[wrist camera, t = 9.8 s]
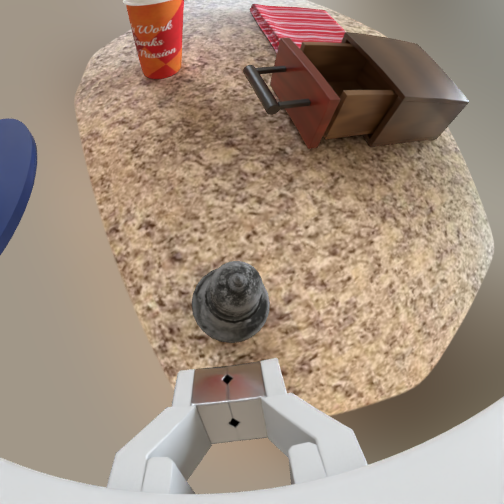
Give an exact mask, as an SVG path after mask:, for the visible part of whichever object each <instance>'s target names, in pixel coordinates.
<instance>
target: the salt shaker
mask: <svg viewBox="0 0 504 504" xmlns="http://www.w3.org/2000/svg"><path fill="white" fill-rule="evenodd" d="M269 304H270V303H269V297H268V293H267V291H266V289H265V286H264V284H263V283H262V279H261V277H260V275H259V273H258V272H257V270H256V269H255V268H254V267H252V266H251V265H250V264H247V263H245V262H240V261H233V262H228V263H226V264H223V265H222V266H221V267H219V268H218V269H215V270H213V271H211V272H209V273H208V274H207V275H205V276H204V277H203V278H202V279H201V281H200V282H199V283H198V284H197V286H196V288H195V291H194V293H193V299H192V309H193V315H194V317H195V320H196V322H197V324H198V325H199V327H200V328H201V329H202V330H203V332H205V333H206V334H207V335H209V336H210V337H211V338H213V339H216V340H218V341H221V342H228V343H235V342H241V341H244V340H246V339H249V338H251V337H252V336H254V335H255V334H256V333H257V332H259V331H260V329H261V328H262V327H263V325H264V324H265V322H266V319H267V317H268V314H269Z"/></svg>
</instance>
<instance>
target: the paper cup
mask: <svg viewBox="0 0 504 504" xmlns="http://www.w3.org/2000/svg"><path fill="white" fill-rule="evenodd" d="M123 3H124V4H126V6H127V11H128V15H129V20H130V24H131V28H132V32H133V37H134V41H135V45H136V49H137V53H138V56H139V60H140V64H141V67H142V71H143V73H144V75H145V76H146V77H148V78H151V79H162V78H167V77H170V76H172V75H174V74H175V73H177V72H178V71H179V70H180V68H181V59H182V30H183V8H184V0H123Z"/></svg>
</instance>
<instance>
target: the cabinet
mask: <svg viewBox="0 0 504 504" xmlns="http://www.w3.org/2000/svg"><path fill="white" fill-rule="evenodd" d="M341 43H347V44H352V45H353V46H354V47H355V48H356V49H357V50H358V51H359V52H360V53H361V54H362V55H363V56H364V57H365V58H366V59H367V61H368V62H369V63H370V64H371V65H372V66H373V67H374V68H375V69H376V70H377V72H378V73H379V74H380V75H381V76H382V77H383V78H384V80H385V81H386V82H387V83H388V84H389V85H390V87H391V88H392V89H393V90H394V91H395V93H396V94H397V95H398V96H399V97H398V98H397V99H396V101H395V102H394V104H393V105H392V107H391V108H390V110H389V111H388V113H387V114H386V116H385V117H384V119H383V120H382V122H381V123H380V125H379V126H378V128H377V129H376V131H375V132H374V133H372V134H363V136H364V138H365V140H366V141H367V143H368V144H369V146H370V147H375V146H382V145H389V144H397V143H405V142H413V141H422V140H432V139H437V138H438V136H440V134H441V133H442V132H443V131H444V130H445V129H446V128H447V127H448V125H449V124H450V123H451V122H452V121H453V120H454V119H455V118H456V117H457V115H458V114H459V113H460V112H461V111H462V109H464V107H465V106H466V105H467V104H468V103H469V101H468V99H467V98H466V97H465V96H464V94H463V93H462V92H461V91H460V89H459V88H458V87H457V86H456V85H455V83H454V82H453V81H452V80H451V79H450V78H449V77H448V75H447V74H446V73H445V72H444V71H443V70H442V69H441V68H440V67H439V66H438V64H436V62H435V61H434V60H433V59H432V58H431V57H430V56H429V55H428V54H427V53H426V52H425V51H424V50H423V49H422V48H421V47H420V46H419V45H418V44H415V43H410V42H406V41H401V40H396V39H391V38H385V37H379V36H373V35H366V34H358V33H349V32H345V34H344V37H343V39H342V42H341Z"/></svg>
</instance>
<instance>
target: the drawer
mask: <svg viewBox="0 0 504 504" xmlns="http://www.w3.org/2000/svg"><path fill="white" fill-rule="evenodd" d="M243 73H244V74H245V76H246V78H247V79H248V81H249V83H250V84H251V86H252V88H253V89H254V91H255V93H256V95H257V96H258V98H259V100H260V101H261V103H262V105H263V107H264V108H265V110H266V112H267V113H268V114H270V115H273V114H276V113H277V112H278V111H279V110H280V109H285V110H286V111H287V113H288V115H289V116H290V118H291V120H292V121H293V123H294V125H295V126H296V128H297V130H298V131H299V133H300V135H301V137H302V138H303V140H304V142H305V144H306V146H307V147H308V149H312V148H317V147H318V145H319V143H320V141H321V139H322V137H324V138H325V140H327V139H333V138H340V137H347V136H355V135H363V134H372V133H374V132H375V131H376V129H377V128H378V126H379V125H380V123H381V122H382V120H383V119H384V117H385V116H386V114H387V113H388V111H389V110H390V108H391V107H392V105H393V104H394V102H395V101H396V99H397V98H398V97H399V96H398V95H397V94H396V93H395V91H394V90H393V89H392V88H391V87H390V85H389V84H388V83H387V82H386V81H385V80H384V78H383V77H382V76H381V75H380V74H379V73H378V72H377V70H376V69H375V68H374V67H373V66H372V65H371V64H370V63H369V62H368V61H367V59H366V58H365V57H364V56H363V55H362V54H361V53H360V52H359V51H358V50H357V49H356V48H355V47H354V46H353V45H352V44H347V43H332V42H302V45H301V48H299V47H298V46H297V45H296V44H295V43H294V42H293V41H292V40H291V38H280V43H279V47H278V51H277V56H276V60H275V65H274V66H273V67H262V68H255V67H254V66H253V65H248V66H246V67H245V68H244V69H243ZM267 73H272V78H271V82H270V86H271V87H272V89H273V90H274V92H275V94H276V95H277V97H278V98H279V100H280V101H281V102H278V103H277V101H276V99H275V98H274V96H273V95H272V93H271V91H270V90H269V88H268V87H267V85H266V83H265V82H264V80H263V79H262V77H261V76H260V74H267Z"/></svg>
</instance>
